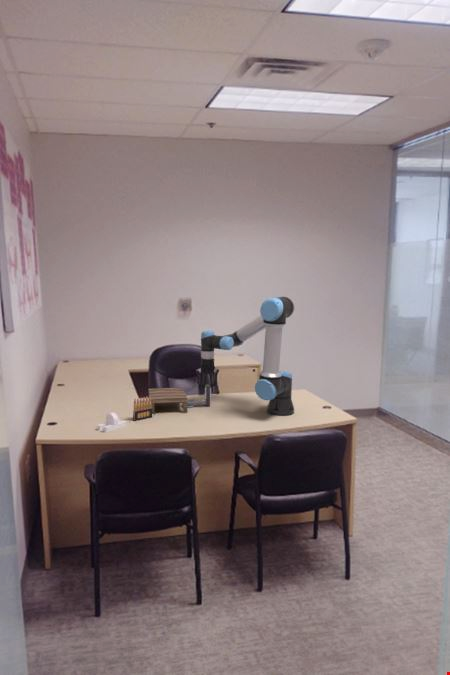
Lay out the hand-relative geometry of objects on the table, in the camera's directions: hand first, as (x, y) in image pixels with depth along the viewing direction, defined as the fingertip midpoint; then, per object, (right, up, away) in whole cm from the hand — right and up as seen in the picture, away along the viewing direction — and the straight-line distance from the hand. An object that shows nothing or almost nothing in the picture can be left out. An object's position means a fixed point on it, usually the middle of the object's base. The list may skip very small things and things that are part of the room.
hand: (207, 397), depth 291 cm
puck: (-10, -5, -1) cm, 12 cm away
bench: (-23, -5, -4) cm, 24 cm away
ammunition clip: (-33, -8, -25) cm, 43 cm away
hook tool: (-6, -5, -1) cm, 8 cm away
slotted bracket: (-46, -11, -40) cm, 62 cm away
